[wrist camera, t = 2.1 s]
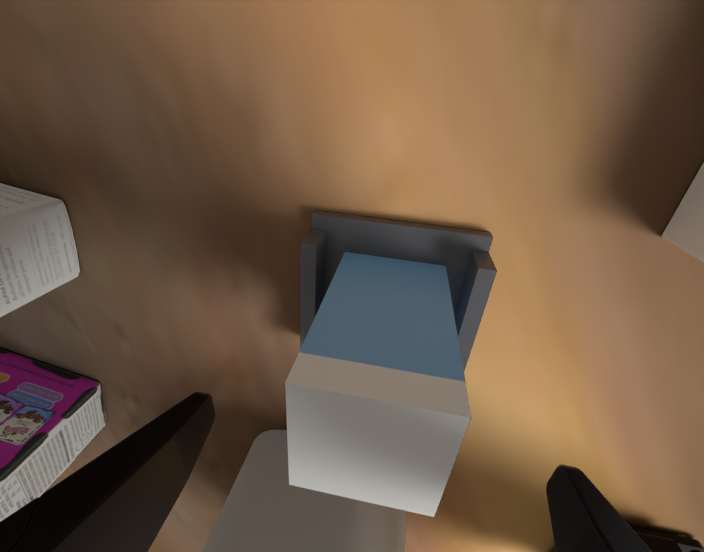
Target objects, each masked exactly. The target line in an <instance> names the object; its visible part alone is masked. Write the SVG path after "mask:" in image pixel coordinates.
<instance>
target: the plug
mask: <svg viewBox="0 0 704 552" xmlns="http://www.w3.org/2000/svg"><path fill="white" fill-rule="evenodd" d="M285 391H286V417H287V443H288V469H289V485H293V486H297V487H302V488H306V489H311V490H315V491H320V492H324V493H329V494H333V495H338V496H342V497H347V498H351V499H355V500H360V501H364V502H369V503H373V504H378V505H382V506H387V507H391V508H396V509H400V510H404V511H409V512H413V513H418V514H422V515H427V516H431V517H434V516H435V513H436V510H437V508H438V505H439V503H440V500H441V497H442V495H443V492H444V489H445V487H446V484H447V481H448V479H449V476H450V473H451V471H452V468H453V465H454V463H455V460H456V457H457V455H458V452H459V449H460V447H461V444H462V441H463V439H464V436H465V434H466V431H467V428H468V426H469V423H470V420H471V413H470V407H469V401H468V395H467V389H466V383H465V377H464V371H463V365H462V359H461V353H460V347H459V341H458V335H457V329H456V324H455V318H454V312H453V306H452V300H451V294H450V288H449V282H448V276H447V270H446V266H443V265H436V264H428V263H421V262H414V261H407V260H400V259H393V258H385V257H378V256H371V255H364V254H357V253H349V252H345V253H344V255H343V257H342V259H341V262H340V264H339V266H338V268H337V270H336V272H335V275H334V277H333V279H332V281H331V283H330V286H329V288H328V290H327V292H326V294H325V297H324V299H323V301H322V303H321V305H320V308H319V310H318V312H317V314H316V316H315V319H314V321H313V323H312V325H311V327H310V329H309V332H308V334H307V336H306V338H305V340H304V343H303V345H302V347H301V349H300V351H299V354H298V356H297V358H296V360H295V362H294V365H293V367H292V369H291V371H290V373H289V376H288V378H287V380H286V382H285Z"/></svg>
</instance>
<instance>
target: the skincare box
mask: <svg viewBox="0 0 704 552" xmlns="http://www.w3.org/2000/svg"><path fill="white" fill-rule="evenodd" d="M79 273H80V267H79V262H78V255H77V249H76V245H75V240H74V235H73V231H72V227H71V223H70V219H69V216H68V213H67V209H66V207H65V204H64V203H63V201H62V200H60V199H57V198H53V197H49V196H46V195H42V194H38V193H34V192H31V191H27V190H24V189H20V188H16V187H13V186H9V185H5V184H2V183H0V317H2V316H4V315H6V314H8V313H9V312H11V311H13V310H15V309H17V308H19V307H21V306H23V305H25V304H27V303H29V302H31V301H33V300H34V299H36V298H38V297H40V296H42V295H44V294H46V293H48V292H49V291H51V290H53V289H55V288H57V287H59V286H61V285H63V284H65V283H66V282H68V281H71V280H73V279H74V278H76V277H78V276H79Z"/></svg>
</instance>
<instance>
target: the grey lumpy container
mask: <svg viewBox="0 0 704 552" xmlns="http://www.w3.org/2000/svg"><path fill="white" fill-rule="evenodd" d="M405 534H406V511H404V510H400V509H396V508H391V507H387V506H382V505H378V504H373V503H369V502H364V501H360V500H355V499H351V498H347V497H342V496H338V495H333V494H329V493H324V492H320V491H315V490H311V489H306V488H302V487H297V486H293V485H289V469H288V443H287V430H268V431H265V432H263V433H261V434H260V435H258V436H257V437H256V439H255V440H254V442H253V444H252V446H251V448H250V450H249V452H248V454H247V457H246V459H245V461H244V463H243V465H242V467H241V469H240V471H239V474H238V476H237V478H236V480H235V482H234V484H233V486H232V488H231V491H230V493H229V495H228V497H227V499H226V501H225V503H224V505H223V508H222V510H221V512H220V514H219V516H218V518H217V520H216V523H215V525H214V527H213V529H212V531H211V533H210V535H209V538H208V540H207V542H206V544H205V546H204V548H203V550H202V552H405Z"/></svg>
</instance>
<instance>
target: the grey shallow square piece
mask: <svg viewBox="0 0 704 552" xmlns="http://www.w3.org/2000/svg"><path fill="white" fill-rule="evenodd" d="M492 239H493V236H492V234H491V233H490V232H484V231H476V230H468V229H460V228H452V227H444V226H436V225H428V224H420V223H412V222H404V221H396V220H388V219H381V218H373V217H365V216H357V215H349V214H341V213H333V212H325V211H317V210H315V211H314V212H313V213H312V220H311V230H310V231H309V232H308V234H307V235H306V236H305V238H304V239H303V240H302V241H301V243H300V349H301V347H302V345H303V343H304V340H305V338H306V336H307V334H308V332H309V329H310V327H311V325H312V323H313V321H314V319H315V316H316V314H317V312H318V310H319V308H320V305H321V303H322V301H323V299H324V297H325V294H326V292H327V290H328V288H329V286H330V283H331V281H332V279H333V277H334V275H335V272H336V270H337V268H338V266H339V264H340V262H341V259H342V257H343V255H344V253H345V252H349V253H357V254H364V255H371V256H378V257H385V258H393V259H400V260H407V261H414V262H421V263H428V264H436V265H443V266H446V270H447V276H448V282H449V288H450V294H451V300H452V306H453V312H454V318H455V324H456V329H457V335H458V341H459V347H460V353H461V359H462V365H463V371H464V370H465V367H466V364H467V361H468V358H469V355H470V352H471V349H472V346H473V343H474V340H475V336H476V333H477V330H478V327H479V324H480V321H481V318H482V315H483V312H484V309H485V306H486V303H487V300H488V297H489V294H490V291H491V287H492V284H493V281H494V278H495V275H496V272H497V270H496V268H495V265H494V263H493V261H492V259H491V257H490V254H489V249H490V246H491V242H492Z"/></svg>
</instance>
